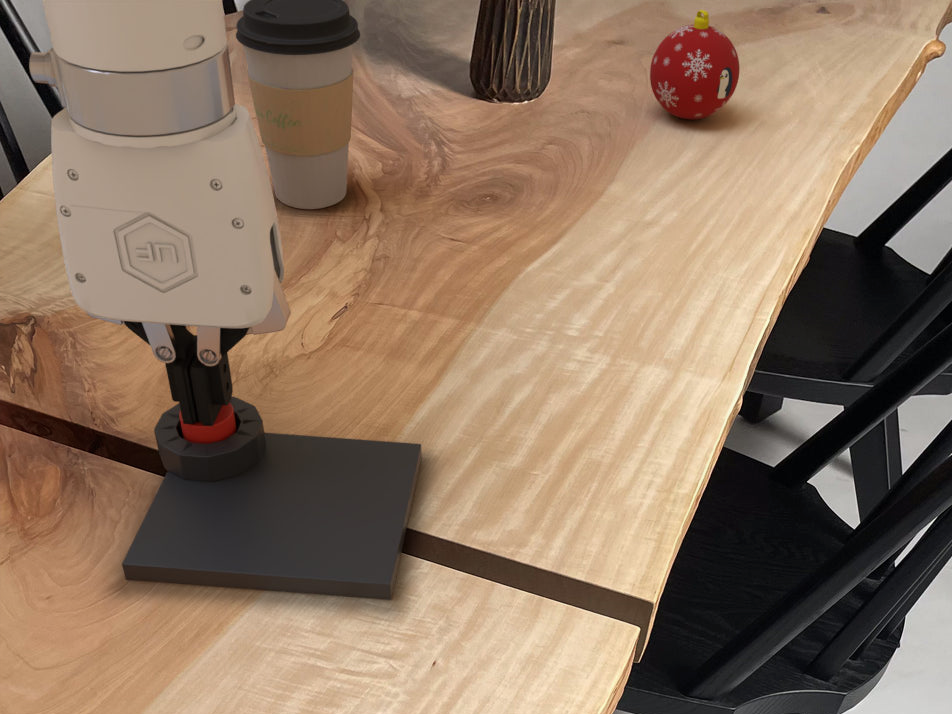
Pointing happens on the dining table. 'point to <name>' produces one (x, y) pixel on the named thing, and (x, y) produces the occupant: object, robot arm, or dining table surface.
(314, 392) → the dining table surface
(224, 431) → the scale button
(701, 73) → the christmas ornament
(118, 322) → the robot arm
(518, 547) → the dining table surface
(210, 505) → the dark grey button base
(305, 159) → the coffee cup
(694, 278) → the dining table surface
